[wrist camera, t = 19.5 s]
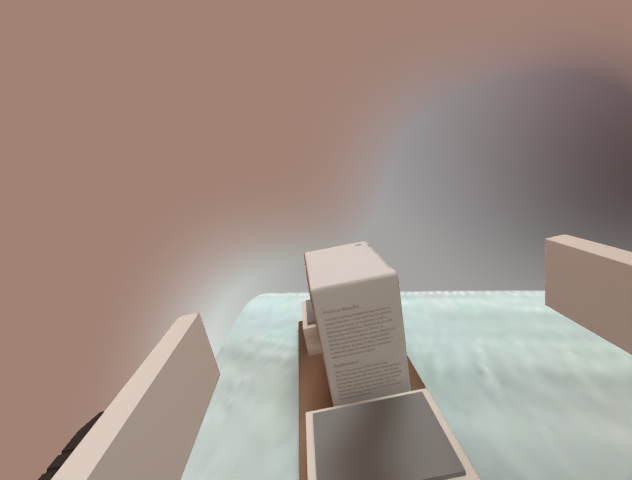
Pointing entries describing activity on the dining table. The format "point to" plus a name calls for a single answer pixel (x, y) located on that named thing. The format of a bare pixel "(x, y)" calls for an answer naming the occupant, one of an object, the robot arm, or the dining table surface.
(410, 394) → the board
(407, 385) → the small box
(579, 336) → the dining table surface
